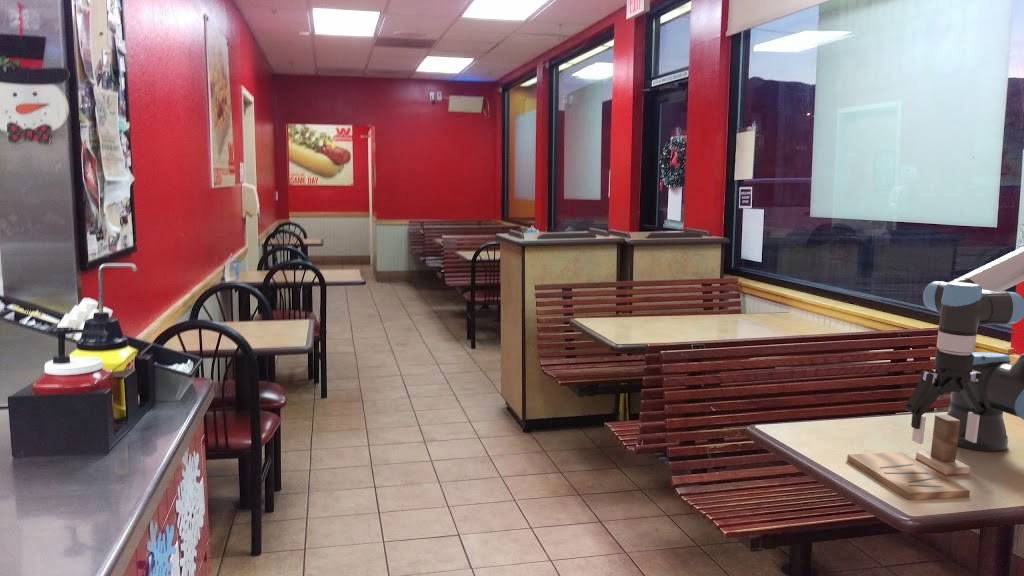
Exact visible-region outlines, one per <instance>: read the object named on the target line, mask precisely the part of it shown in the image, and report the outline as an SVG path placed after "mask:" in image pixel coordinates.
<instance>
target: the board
mask: <svg viewBox="0 0 1024 576" xmlns="http://www.w3.org/2000/svg"><path fill="white" fill-rule="evenodd" d="M846 459H847V460H846V461H847V462H849V463H851V464H852V465H853V466H855V467H857V468H858V469H860V470H861V471H863V472H864V473H866V474H868V475H869V476H871V477H872V478H873V479H875V480H876V481H878V482H880V483H881V484H883V485H884V486H885V487H888V488H889V489H891V490H892V491H894V493H897V494H899V495H900V496H902V497H903V498H905V499H906V500H908V501H916V500H937V499H938V500H939V499H958V498H959V499H961V498H970V496H971V495H970V493H971V490H970V489H968V488H966V487H965V486H963V485H961V484H959V483H957V482H955V481H954V480H952V479H951V478H950V477H949V478H948V476H946V477H945V476H943V475H942V474H940V473H938V472H936V471H934V470H933V469H931V468H929V467H927V466H925V465H924V464H922V463H920V462H918V461H916V460H915V459H914V458H913V457H911V456H909V455H907V454H906V453H904V452H883V453H882V452H880V453H879V452H878V453H851V454H850V453H849V454H848V453H847V457H846Z"/></svg>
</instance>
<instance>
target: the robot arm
mask: <svg viewBox="0 0 1024 576" xmlns="http://www.w3.org/2000/svg"><path fill="white" fill-rule="evenodd" d="M1023 282H1024V246H1022V247H1019V248H1018V249H1016V250H1014V251H1011V252H1009V253H1007V254H1005V255H1003V256H1001V257H999V258H996V259H995V260H993V261H991V262H988V263H986V264H985V265H982V266H979V267H978V268H976V269H974V270H972V271H969V272H968V273H966V274H964V275H962V276H959V277H957V278H955V279H953V280H950V281H948V282H946V281H943V280H942V281H936V280H935V281H932V282H930V283H929V284H927V285H926V287H925V289H924V290H923V292H922V293H923V294H922V300H923V304H924V306H925V307H926V308H927V309H928V310H930V311H933V312H936V313H939V322H938V323H939V324H938V330H937V331H938V332H937V339H936V340H937V341H936V348H937V350H936V351H935V356H934V366H935V370H934V372H929V371H926V370H923V371H921V374H920V379H919V382H918V383H917V384H916V386H915V388H914V390H913V392H912V394H911V395H910V397H909V398H908V400H907V402H906V403H905V405H904V410H905V411H907V412H909V413H911V423H910V424H911V428H913V429H912V436H911V437H912V438H911V440H912V441H913V442H915V443H916V444H919V445H923V444H924V436H925V428H926V419H927V416H925V415H924V414H925V413H926V412H927V411H928V409H930V407H931V406H932V405H933V404H934V403H935V402H936V400H938V398H939V397H940V396H942V395H944V394H945V393H950V403H949V408H948V411H947V412H946V415H949V416H951V417H954V418H956V419H958V420H960V425H959V434H958V443H957V447H959V448H964V449H968V450H973V451H979V452H980V451H981V452H1001V451H1005V450H1007V448H1008V444H1009V438H1008V435H1007V431H1006V426H1005V421H1004V413H1006V414H1008V415H1012V416H1015V417H1017V418H1020V419H1021V420H1023V421H1024V353H1021V354H1020V356H1019V357H1018V359H1017V360H1016V362H1015V363H1014V364H1013V363H1011V360H1010V359H1011V358H1010V355H1008V354H1004V353H998V352H997V353H996V352H984V351H983V352H982V351H981V352H979V351H977V352H975V351H976V344H977V335H978V328H979V326H993V325H996V326H998V325H999V326H1007V325H1013V324H1017V323H1019V322H1020V321H1021V320H1022V319H1024V298H1023V297H1022V295H1020V294H1019V293H1017V292H1014V291H1006V290H1008V289H1010V288H1012V287H1014V286H1016V285H1018V284H1021V283H1023Z"/></svg>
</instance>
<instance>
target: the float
mask: <svg viewBox="0 0 1024 576" xmlns="http://www.w3.org/2000/svg"><path fill="white" fill-rule="evenodd" d="M933 423H934V424H933V433H932V438H931V439H932V441H931V449H930V450H929V451H916V454H915V455H916V456H915V460H916V461H918V462H920V463H922V464H923V465H925V466H927V467H929V468H931V469H932V470H934V471H936V472H938V473H940V474H941V475H943V476H945V477H963V476H964V477H965V476H967V477H969V476H970V475H971V472H970V471H971V466H970V465H967V464H966V463H963V462H962V461H960V460H958V459H956V458H957V450H958V446H957V443H958V434H959V425H960V420H958V419H956V418H954V417H951V416H949V415H947V414H935V415H934V422H933Z"/></svg>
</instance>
